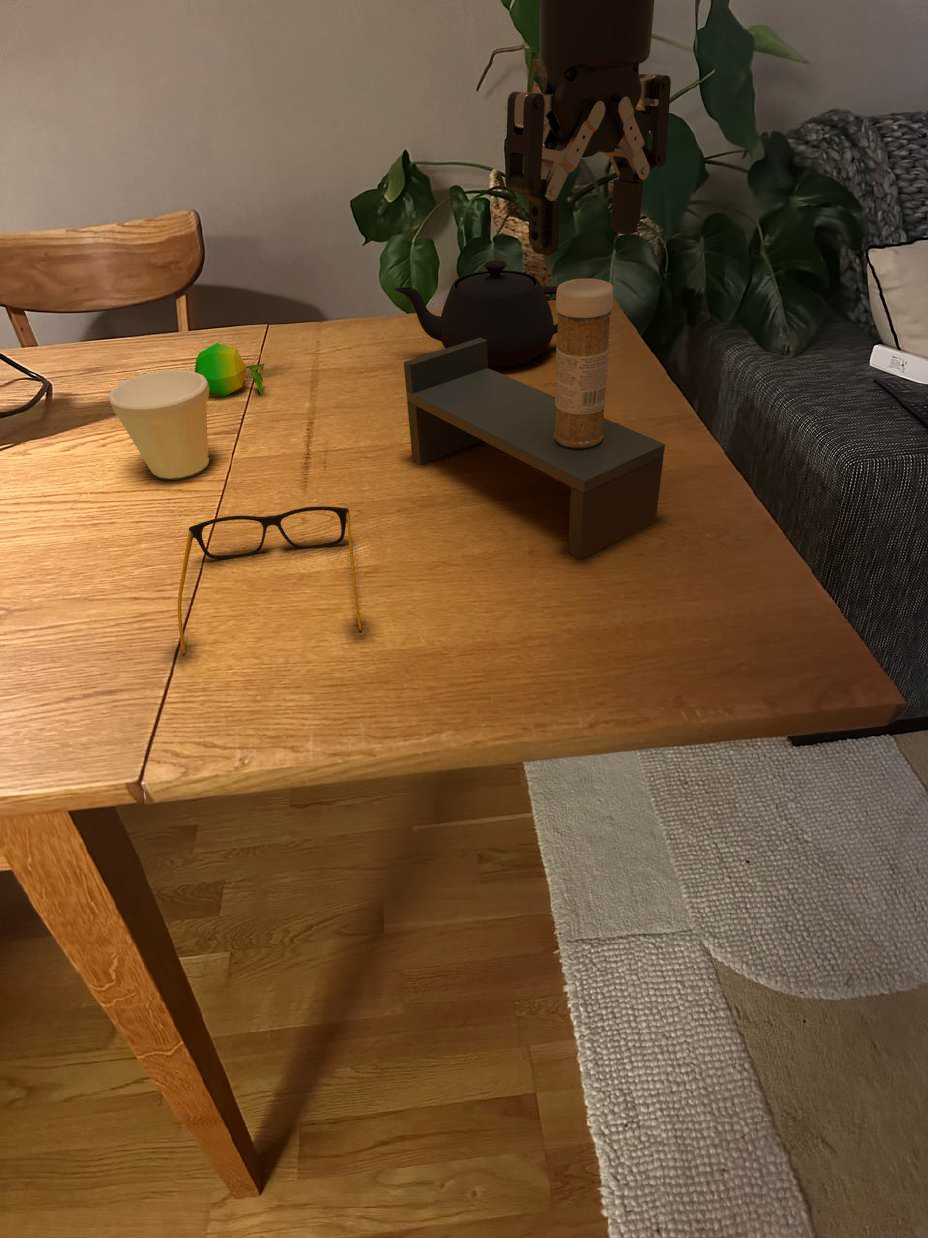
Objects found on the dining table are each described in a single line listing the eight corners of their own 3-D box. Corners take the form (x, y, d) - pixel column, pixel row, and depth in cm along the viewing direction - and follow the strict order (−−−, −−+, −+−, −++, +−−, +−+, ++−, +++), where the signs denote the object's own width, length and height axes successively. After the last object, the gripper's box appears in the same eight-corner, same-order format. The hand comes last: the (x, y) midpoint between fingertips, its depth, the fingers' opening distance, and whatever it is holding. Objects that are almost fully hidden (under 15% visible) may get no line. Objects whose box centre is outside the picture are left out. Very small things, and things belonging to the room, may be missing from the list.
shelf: (656, 521, 77) (669, 411, 70) (580, 560, 72) (586, 448, 65) (483, 432, 93) (480, 337, 86) (412, 460, 88) (403, 361, 82)
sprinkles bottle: (593, 425, 75) (602, 273, 67) (610, 446, 72) (622, 289, 63) (546, 432, 74) (549, 279, 66) (561, 454, 71) (567, 296, 63)
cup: (242, 469, 88) (223, 388, 83) (153, 500, 84) (126, 416, 78) (205, 439, 95) (185, 361, 89) (121, 466, 90) (94, 386, 84)
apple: (184, 337, 101) (256, 330, 101) (199, 356, 107) (267, 350, 108) (189, 393, 101) (262, 386, 101) (204, 408, 107) (272, 402, 107)
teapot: (572, 331, 118) (575, 241, 110) (590, 371, 106) (595, 273, 98) (401, 341, 118) (393, 251, 110) (399, 382, 106) (390, 285, 98)
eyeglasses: (353, 537, 76) (347, 501, 74) (362, 632, 65) (356, 592, 63) (199, 556, 75) (189, 519, 73) (182, 656, 64) (168, 617, 61)
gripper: (557, -21, 47) (551, 271, 57) (714, -30, 54) (684, 233, 64) (477, -17, 52) (484, 252, 62) (630, -26, 58) (614, 218, 69)
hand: (585, 242), depth 63 cm, fingers open, 8 cm apart
